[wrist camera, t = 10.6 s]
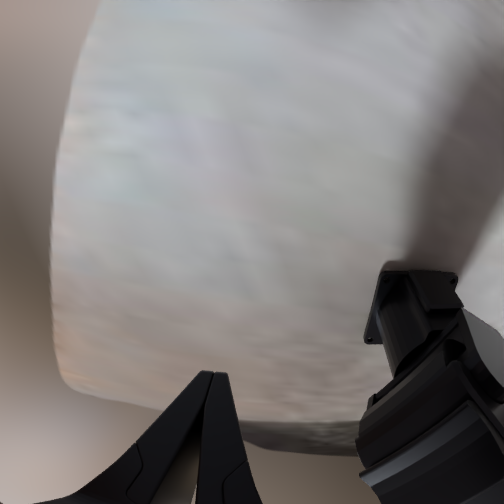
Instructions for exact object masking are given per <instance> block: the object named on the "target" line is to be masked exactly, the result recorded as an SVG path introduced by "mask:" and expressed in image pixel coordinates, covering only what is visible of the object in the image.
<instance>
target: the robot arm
mask: <svg viewBox="0 0 504 504" xmlns="http://www.w3.org/2000/svg"><path fill="white" fill-rule="evenodd" d="M386 277H389V278H388V279H387V280H384V278H386ZM451 279H453V280H452V281H450V280H451ZM457 283H458V277H457V276H456V274H455V273H447V272H441V271H427V270H411V271H384V272H382V273H381V274H380V275H379V278H378V283H377V287H376V291H375V295H374V299H373V303H372V307H371V311H370V315H369V319H368V322H367V326H366V330H365V333H364V342H365V343H366V344H383V345H384V349H385V352H386V355H387V359H388V362H389V366H390V369H391V373H392V376H393V380H392V381H391V382H390V383H388V384H387V385H386V386H385V387H384V388H383V389H381V390H380V391H379V392H378V393H377V394H373V395H372V396H371V397H370V398H369V400H368V405H367V411H366V412H365V413H364V415H363V417H362V419H361V421H360V426H359V436H358V437H357V438H356V439H355V443H356V448H357V452H358V455H359V458H360V460H361V462H362V464H363V466H364V467H365V469H366V470H364V471H362V472H361V473H359V476H360V478H361V479H362V480H363V481H364V482H366V483H367V484H368V485H369V486H370V487H371V488H372V490H373V491H374V492H375V494H376V495H377V496H378V498H379V500H380V502H381V504H504V339H503V337H502V336H501V335H500V333H499V332H498V331H497V330H496V329H494V328H493V327H491V326H490V325H488V324H487V323H485V322H484V321H482V320H481V319H479V318H478V317H476V316H475V315H473V314H472V313H470V312H469V311H467V310H466V309H464V308H463V307H464V305H463V303H462V301H461V300H460V298H459V297H458V295H457V294H456V292H455V288H456V286H457ZM371 337H372V338H371ZM368 338H370V339H368ZM196 484H197V488H196ZM195 488H196V501H195V504H263V503H262V501H261V499H260V496H259V494H258V491H257V489H256V487H255V484H254V481H253V477H252V474H251V470H250V466H249V463H248V459H247V455H246V451H245V447H244V443H243V438H242V434H241V430H240V426H239V422H238V417H237V413H236V409H235V404H234V400H233V395H232V391H231V386H230V382H229V377H228V374H227V373H226V372H215V373H214V372H213V371H205V370H202V371H200V372H199V373H198V374H197V376H196V377H195V378H194V379H193V380H192V381H191V382H190V383H189V384H188V386H187V387H186V388H185V389H184V390H183V391H182V392H181V393H180V394H179V395H178V397H177V398H176V399H175V400H174V401H173V402H172V403H171V404H170V405H169V406H168V407H167V409H166V410H165V411H164V412H163V413H162V414H161V415H160V416H159V418H157V419H156V421H155V422H154V423H153V424H152V425H151V426H150V427H149V428H148V429H147V430H146V431H145V432H144V433H143V435H141V436H140V438H139V439H138V440H137V441H136V443H134V444H133V445H132V446H131V447H130V448H129V449H128V450H127V451H126V452H125V453H124V454H123V455H122V456H121V457H120V458H119V459H118V460H117V461H116V462H114V463H113V464H112V465H111V466H109V467H108V468H107V469H106V470H105V471H103V472H102V473H101V474H99V475H98V476H97V477H96V478H94V479H93V480H92V481H90V482H89V483H88V484H86V485H85V486H84V487H82V488H81V489H80V490H78V491H77V492H75V493H73V494H71V495H69V496H66V497H63V498H59V499H54V500H51V501H45V502H40V503H34V504H191V502H192V498H193V495H194V491H195ZM0 504H3V503H1V502H0Z"/></svg>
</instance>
